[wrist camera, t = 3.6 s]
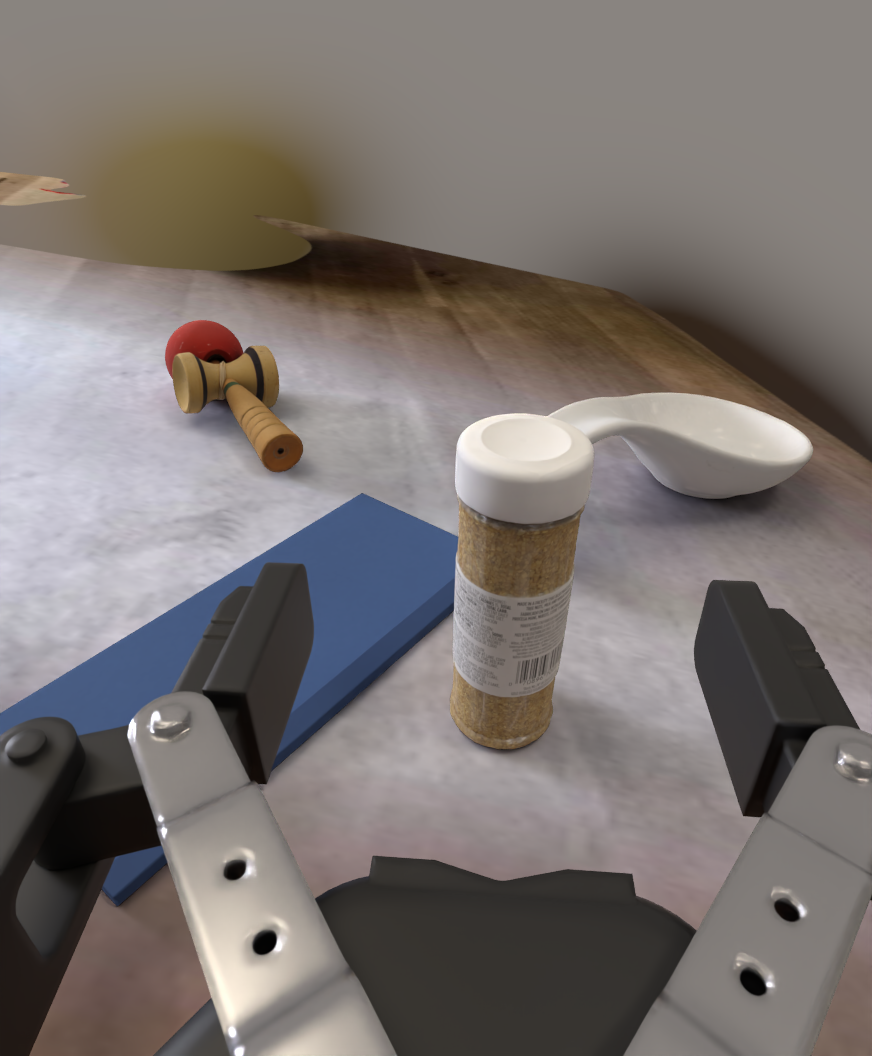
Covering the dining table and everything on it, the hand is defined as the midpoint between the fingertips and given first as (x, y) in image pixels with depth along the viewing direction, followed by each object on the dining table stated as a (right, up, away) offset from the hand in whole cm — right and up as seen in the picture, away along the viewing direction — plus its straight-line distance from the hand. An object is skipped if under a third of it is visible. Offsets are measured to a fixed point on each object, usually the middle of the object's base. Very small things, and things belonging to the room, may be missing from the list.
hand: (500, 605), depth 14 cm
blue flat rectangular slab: (-9, -4, +20) cm, 22 cm away
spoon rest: (+12, +3, +30) cm, 33 cm away
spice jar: (+2, -7, +17) cm, 18 cm away
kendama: (-16, +9, +39) cm, 43 cm away
